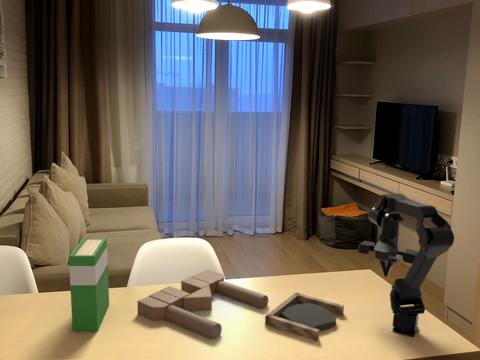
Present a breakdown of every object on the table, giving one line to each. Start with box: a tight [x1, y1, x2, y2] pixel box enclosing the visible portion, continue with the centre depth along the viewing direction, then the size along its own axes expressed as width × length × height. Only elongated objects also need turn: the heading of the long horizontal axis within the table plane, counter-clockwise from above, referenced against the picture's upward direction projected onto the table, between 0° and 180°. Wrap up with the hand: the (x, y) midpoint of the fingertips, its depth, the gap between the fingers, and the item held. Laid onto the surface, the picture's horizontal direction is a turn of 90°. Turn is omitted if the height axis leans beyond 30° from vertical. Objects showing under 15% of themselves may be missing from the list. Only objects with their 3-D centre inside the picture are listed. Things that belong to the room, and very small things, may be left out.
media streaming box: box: [280, 303, 337, 333], centre depth 160 cm, size 15×15×3 cm
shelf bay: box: [264, 292, 345, 342], centre depth 161 cm, size 18×21×3 cm
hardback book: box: [68, 236, 110, 333], centre depth 157 cm, size 18×7×24 cm, turn 3°
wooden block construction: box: [136, 269, 269, 340], centre depth 167 cm, size 35×6×29 cm
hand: (386, 276), depth 166 cm, fingers closed
